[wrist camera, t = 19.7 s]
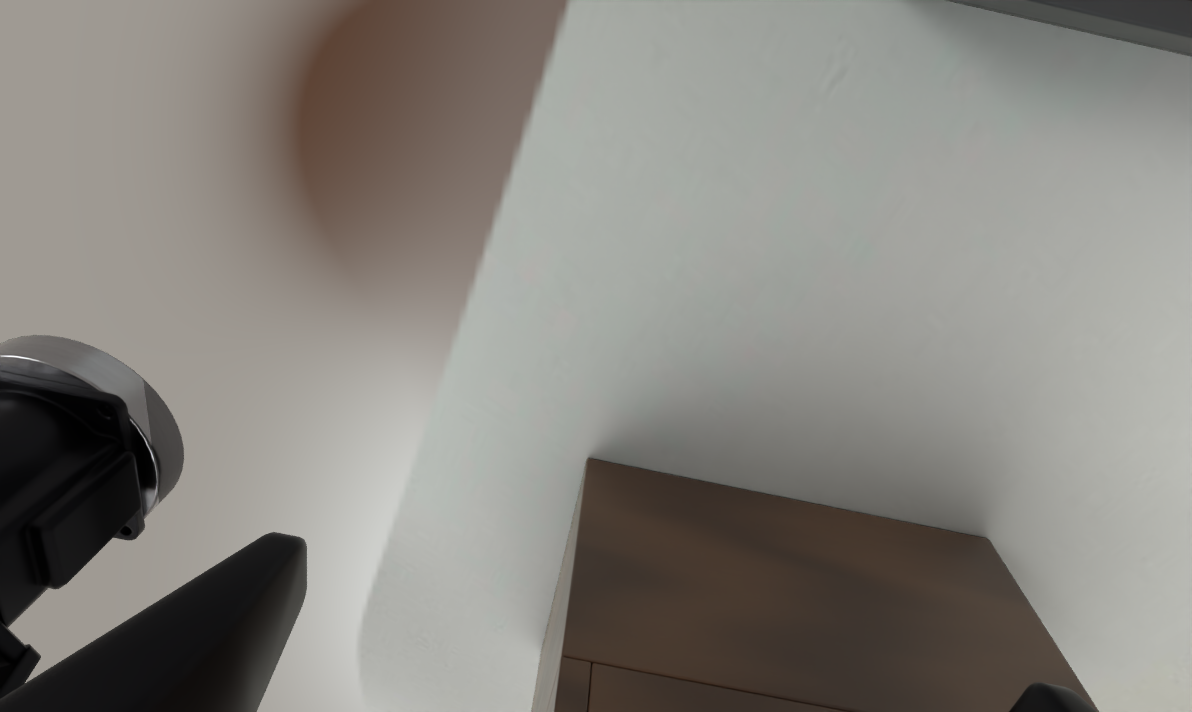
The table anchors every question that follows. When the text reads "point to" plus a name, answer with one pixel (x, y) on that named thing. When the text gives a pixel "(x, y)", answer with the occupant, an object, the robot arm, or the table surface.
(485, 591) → the table surface
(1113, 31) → the tub
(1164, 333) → the table surface
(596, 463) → the box
